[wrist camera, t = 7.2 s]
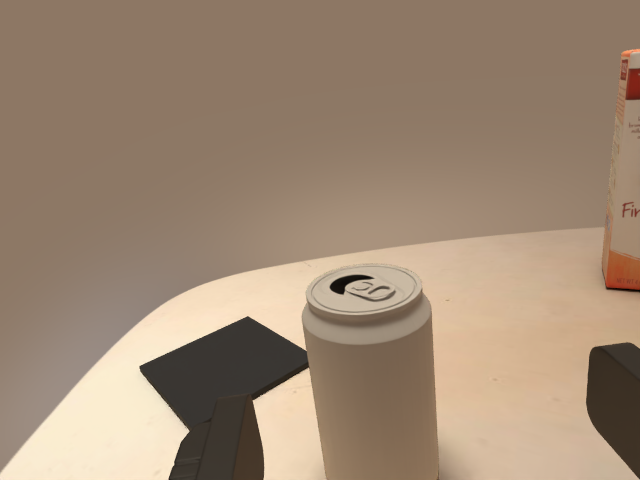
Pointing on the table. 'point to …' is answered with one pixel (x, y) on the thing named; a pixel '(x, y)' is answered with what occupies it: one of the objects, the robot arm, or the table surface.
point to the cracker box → (624, 183)
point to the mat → (223, 368)
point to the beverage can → (372, 373)
